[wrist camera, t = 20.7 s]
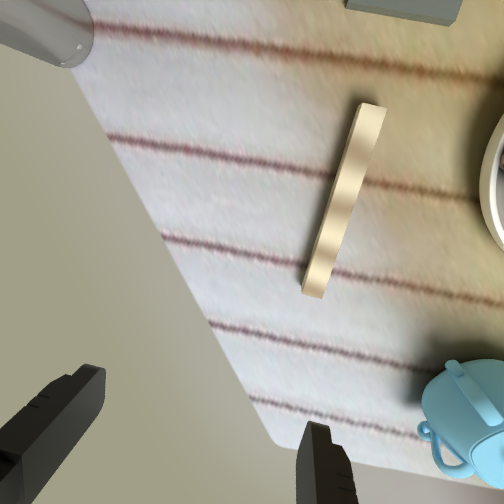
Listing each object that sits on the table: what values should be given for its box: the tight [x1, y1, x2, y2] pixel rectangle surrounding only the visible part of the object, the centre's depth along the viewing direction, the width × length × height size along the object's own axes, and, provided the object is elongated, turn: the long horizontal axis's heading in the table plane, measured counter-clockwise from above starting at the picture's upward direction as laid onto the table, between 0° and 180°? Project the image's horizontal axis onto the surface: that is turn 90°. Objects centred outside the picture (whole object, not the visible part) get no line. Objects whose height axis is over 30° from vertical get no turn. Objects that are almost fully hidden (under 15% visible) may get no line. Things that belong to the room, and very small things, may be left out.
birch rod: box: [301, 103, 387, 299], centre depth 41 cm, size 26×3×3 cm, turn 167°
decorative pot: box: [417, 359, 504, 489], centre depth 41 cm, size 16×16×14 cm
